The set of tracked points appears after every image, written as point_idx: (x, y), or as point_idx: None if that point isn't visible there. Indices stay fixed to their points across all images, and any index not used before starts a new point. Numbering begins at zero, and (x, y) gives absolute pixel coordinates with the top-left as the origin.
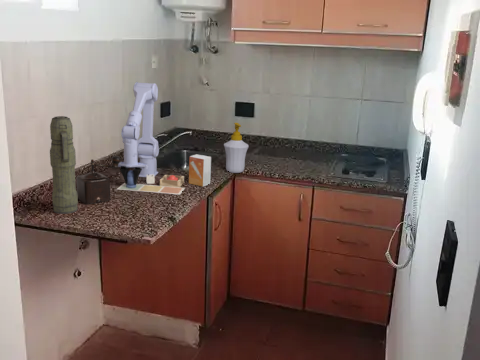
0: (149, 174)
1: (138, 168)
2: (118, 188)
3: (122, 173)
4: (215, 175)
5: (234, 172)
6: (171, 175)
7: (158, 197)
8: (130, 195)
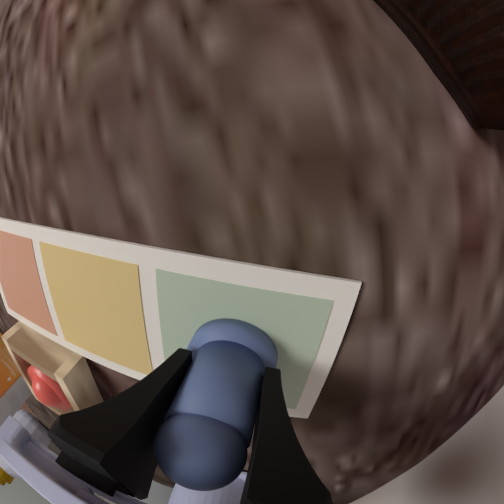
0: None
1: (72, 465)
2: (342, 309)
3: (298, 460)
4: (40, 412)
5: (27, 412)
6: (39, 398)
7: (19, 138)
8: (176, 110)
